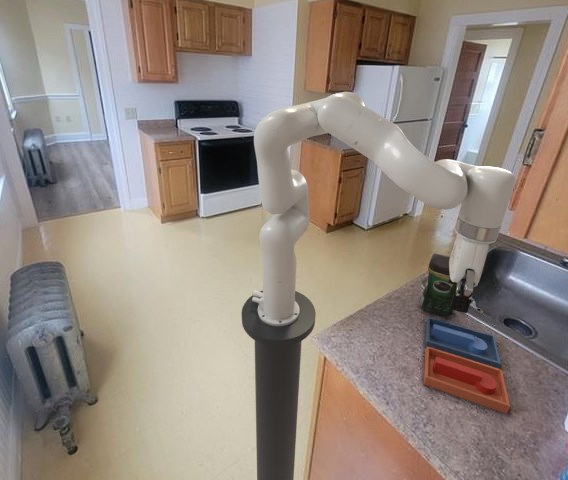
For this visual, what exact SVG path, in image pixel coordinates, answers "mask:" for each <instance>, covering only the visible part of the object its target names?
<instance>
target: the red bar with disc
mask: <svg viewBox="0 0 568 480" xmlns="http://www.w3.org/2000/svg"><path fill="white" fill-rule="evenodd" d="M433 372H435V373H437V374H440V375H443V376H446V377H449V378H452V379H455V380H458V381H461V382H464V383H467V384H470V385H473V386H475V387H476V388H477V389H478V390H479V391H480V392H482V393H484V394H487V395H492V394H494V392H495V390H496V387H497V383H496V381H495V380H494V379H493V378H492V377H491V376H490V375H488V374H486V373H482V372H481V371H479V370H476V369H472V368H469V367H466V366H463V365H460V364H457V363H454V362H451V361H448V360H445V359H441V358H438V357H436V358H435V361H434V365H433Z"/></svg>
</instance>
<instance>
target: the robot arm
mask: <svg viewBox="0 0 568 480" xmlns="http://www.w3.org/2000/svg"><path fill="white" fill-rule="evenodd" d="M325 134H330V135H331V136H332V137H334V138H336V139H338V140H339V141H340V142H342V143H344V144H345V145H347V146H348V147H350V148H351V149H353V150H355V151H357V152H358V153H360V155H363V156H364V157H366V158H367V159H368V160H370V161H372V162H373V163H374V164H375V165H376V166H377V168H378V169H379V170H380V171H381V172H382V173H383V174H384V175H385V176H387V177H388V178H389V179H390V180H391V181H392V182H393V183H394V184H395V185H397V187H399V188H400V189H402V190H403V191H405V192H406V193H408V194H409V195H411V196H412V197H414V198H415V199H417V200H419V201H420V202H422V203H424V204H425V205H427V206H429V207H430V208H431V207H432V208H434V209H436V210H437V209H438V210H451V209H455V208H456V207H458V206H460V208H459V212H458V216H457V220H456V224H455V228H454V233H455V235H456V237H455V241H454V244H453V247H452V250H451V253H450V255H449V257H450V259H449V271H450V278H449V283H450V284H454V285H457V289H456V293H454V295H453V298H452V302H451V305H450V309H451V310H453V312H454V311H455V312H458V313H462V314H468V312H469V309H470V305H471V302H472V299H473V294H474V293H473V292H474V288H475V287H478V284H479V283H480V280H481V277H482V274H483V271H484V267H485V264H486V260H487V256H488V252H489V247H490V245H492V244H494V243H496V242H497V240H498V237H499V234H500V232H501V228H502V225H503V221H504V219H505V216H506V212H507V209H508V206H509V203H510V200H511V197H512V194H513V190H514V188H515V186H516V185H515V184H516V177H515V175H514V173H512V172H511V171H509V170H507V169H504V168H501V167H495V166H487V165H486V166H485V165H484V166H479V165H473V164H470V163H465V162H463V161H458V160H454V159H449V158H447V159H439V160H437V161H434V160H432V158H430V157H428V156H427V155H425V154H424V153H422V152H421V151H420V150H419V149H418V148H416V147H415V146H414V145H413V144H412V142H410V140H409V139H408V138H407V136H406V135H405V133H404V132H403V130H402V129H401V128H400V127H399V126H398V125H397V124H396V123H394V122H393V121H390V120H388V119H387V118H385V117H383V116H382V115H380V114H378V113H377V112H375V111H374V110H372V109H370V108H368V107H367V106H365V102H364V101H363V99H362V98H361V96H359V95H358V94H357V93H354V92H351V91H342V92H336V93H333V94H330V95H329V96H327V97H323V98H319V99H317V100H313V101H308V102H305V103H301V104H296V105H290V106H285V107H282V108H278V109H276V110H273V111H272V112H270V113H268V114H267V115H265V116H264V117H263V118H262V119H261V120H259V122H258V124H257V125H256V127H255V129H254V134H253V147H254V152H255V159H256V166H257V178H258V187H259V196H260V197H259V198H260V203H261V205H262V208H263V209H264V211H265V212H266V213H268V214H270V215H273V216H272V217H270V218H269V219H268V220H267V221H265V223H264V224H263V225H262V226H261V229H260V231H259V235H258V237H259V238H258V239H259V245H260V249H261V256H262V290H263V293H261V292H260V291H259V290H256V289H254V290H253V291H252V294H251V296H254V297H253V298H252V301H254V302H257V303H259V306H258V315H259V317H260V319H261V320H262V321H263V322H265V323H266V324H269V325H272V326H286V325H289V324H291V323H293V322H294V321H295V320H296V319H297V318H298V316H299V311H300V310H299V305H298V304H297V302H296V301H295V291H296V283H297V256H296V253H295V246H296V244H297V242H298V241H299V240H300V239H301V237H302V236H303V235H304V234H305V233H306V232H307V230H308V229H309V226H310V219H311V218H310V196H309V186H308V182H307V180H306V178H305V176H304V174H302V173H301V172H300V171H298V170H297V169H293V168H292V160H291V156H290V153H289V150H288V148H289V147H290V146H292V145H295V144H298V143H300V142H302V141H305V140H306V139H309V138H312V137H316V136H321V135H325ZM461 287H463V288H461ZM256 297H257V298H256ZM258 298H260V299H258Z"/></svg>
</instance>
